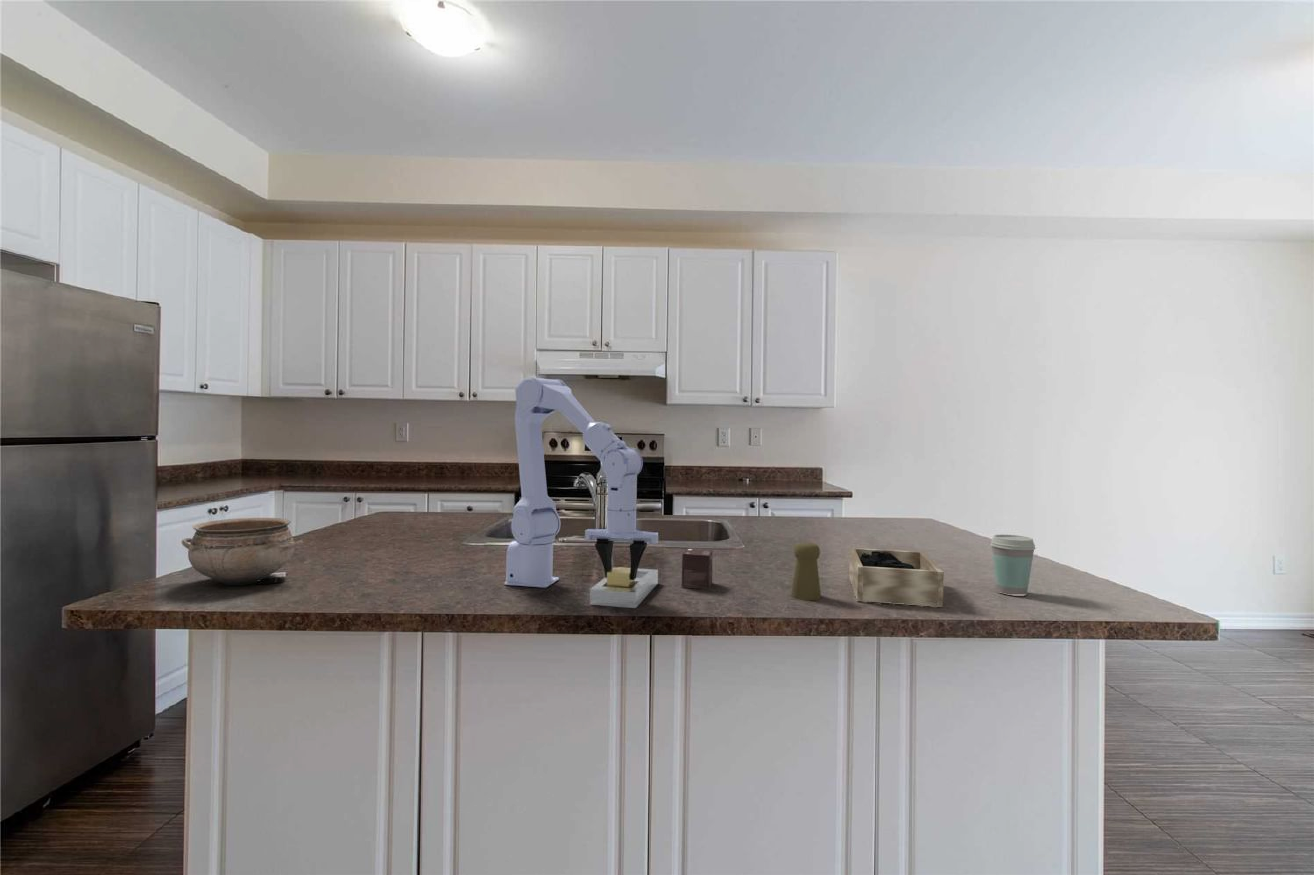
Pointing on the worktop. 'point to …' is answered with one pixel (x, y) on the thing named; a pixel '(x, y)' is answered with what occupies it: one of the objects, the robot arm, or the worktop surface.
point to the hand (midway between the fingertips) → (620, 577)
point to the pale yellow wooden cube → (620, 578)
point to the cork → (806, 572)
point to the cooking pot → (240, 548)
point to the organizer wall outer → (930, 565)
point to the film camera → (883, 560)
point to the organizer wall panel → (856, 574)
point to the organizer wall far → (896, 555)
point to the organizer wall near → (900, 585)
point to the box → (697, 568)
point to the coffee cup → (1012, 562)
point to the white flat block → (625, 591)
